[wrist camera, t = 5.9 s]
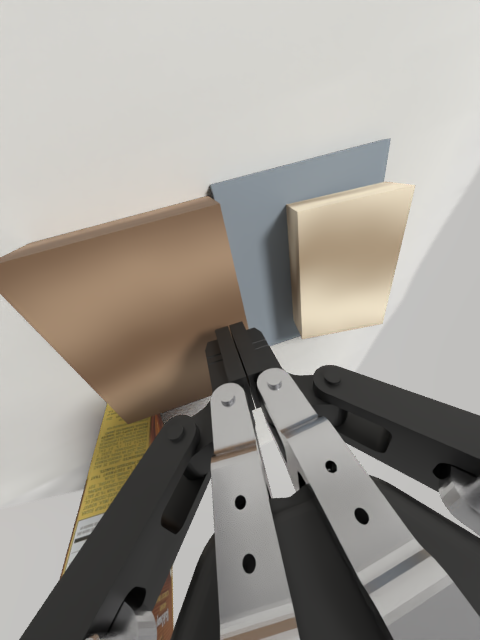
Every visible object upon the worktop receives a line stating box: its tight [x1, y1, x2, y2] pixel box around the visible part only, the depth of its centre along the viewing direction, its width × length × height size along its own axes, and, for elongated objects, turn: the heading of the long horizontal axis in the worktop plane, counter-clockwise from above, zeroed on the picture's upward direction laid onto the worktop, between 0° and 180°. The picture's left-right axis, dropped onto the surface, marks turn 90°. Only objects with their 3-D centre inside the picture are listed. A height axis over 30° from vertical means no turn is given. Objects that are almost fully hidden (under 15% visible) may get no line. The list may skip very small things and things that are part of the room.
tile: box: [286, 182, 415, 339], centre depth 15 cm, size 9×6×2 cm, turn 11°
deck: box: [0, 196, 249, 424], centre depth 14 cm, size 12×10×4 cm
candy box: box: [60, 403, 173, 640], centre depth 16 cm, size 9×4×15 cm, turn 1°
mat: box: [210, 138, 391, 346], centre depth 17 cm, size 13×11×1 cm
